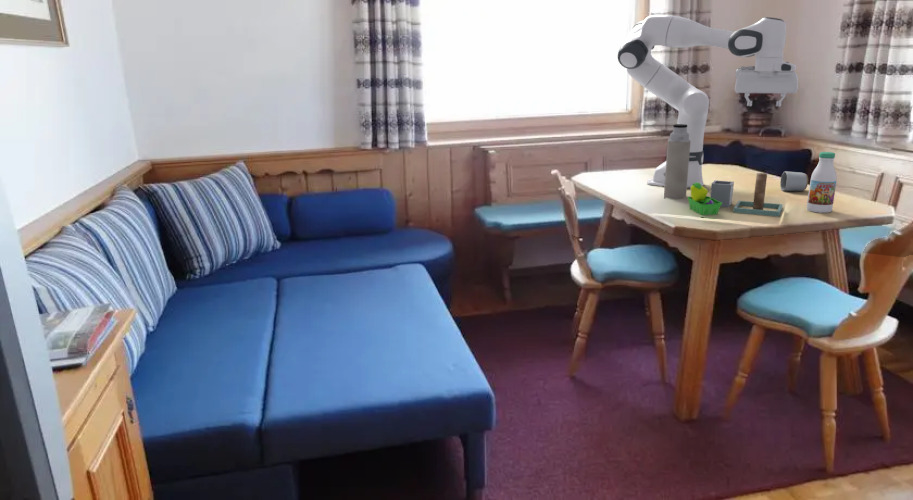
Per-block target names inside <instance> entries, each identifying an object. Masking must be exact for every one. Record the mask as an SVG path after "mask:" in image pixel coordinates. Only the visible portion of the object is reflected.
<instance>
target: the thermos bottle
mask: <svg viewBox="0 0 913 500" xmlns="http://www.w3.org/2000/svg"><path fill="white" fill-rule="evenodd" d="M672 126H673V128H672V132H671V133H670V134H669V138H668V139H667V145H666V147H667V150H666V160H665V161H666V173H665V186H663V187H664V190H663V199H664V200H665V199H674V200H675V199H676V200H678V199H679V200H681V199H686V198H687V189H688V188H687V178H688V166H689V154H690V141H691V140H689V134H688V133H687V125H685V124H677V123H676V124H673V125H672Z"/></svg>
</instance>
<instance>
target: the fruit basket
mask: <svg viewBox="0 0 913 500" xmlns="http://www.w3.org/2000/svg"><path fill="white" fill-rule="evenodd" d="M708 192H709V191H708V188H705V187H704V185H703V186H701V184H700V183H695V184H694V183H693V185H692V186H691V187H690V196H687V201H688V205H689V209H690V210H691V211H693V212H696V213H697V214H699V215H700V218H701V219H702V218H703V219H704V218H708V217H706V216H711V215H712V216H713V215H718V213H719V210H720V208H721V207H720V206H721V205H722V203H721V202H719V201H717V200H715V199H713V198H711V197H710V195H708ZM704 216H705V217H704Z"/></svg>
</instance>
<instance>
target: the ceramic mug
mask: <svg viewBox="0 0 913 500" xmlns="http://www.w3.org/2000/svg"><path fill="white" fill-rule="evenodd" d="M779 184H780V185H779V186H780V190H781V191H782V192H803V191H805V190H806V189H807V187H808V186H809V185H808V184H809V177H808V175H807V174H806V173H804V172H798V171H797V172H796V171H787V170H786V171H783V173H782V174H781V177H780V183H779Z"/></svg>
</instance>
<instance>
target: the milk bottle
mask: <svg viewBox="0 0 913 500" xmlns="http://www.w3.org/2000/svg"><path fill="white" fill-rule="evenodd" d="M835 157H836V153H835V152H831V151H820V152H819V154H818V159H819V161H818V164H817V166H816V167H815V168H814V169H813V171H812V173H811V177H810V182H809V189H808V195H807V202H806V210H807V211H809V212H812V213H817V214H818V213H819V214H820V213H821V214H827V213H832V211H833V208H834V201H835V194H836V187H837V177H838V176H837V171H836V169H835V166H834V161H835Z"/></svg>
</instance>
